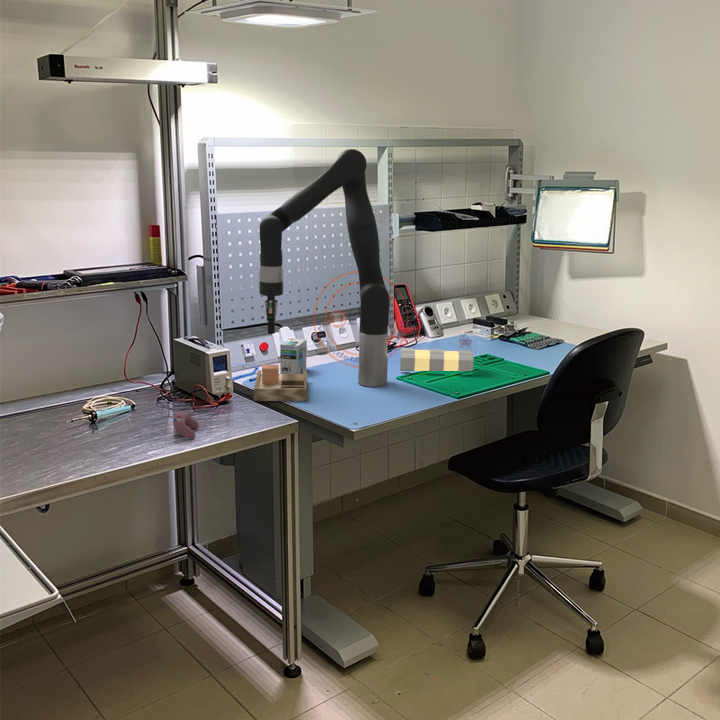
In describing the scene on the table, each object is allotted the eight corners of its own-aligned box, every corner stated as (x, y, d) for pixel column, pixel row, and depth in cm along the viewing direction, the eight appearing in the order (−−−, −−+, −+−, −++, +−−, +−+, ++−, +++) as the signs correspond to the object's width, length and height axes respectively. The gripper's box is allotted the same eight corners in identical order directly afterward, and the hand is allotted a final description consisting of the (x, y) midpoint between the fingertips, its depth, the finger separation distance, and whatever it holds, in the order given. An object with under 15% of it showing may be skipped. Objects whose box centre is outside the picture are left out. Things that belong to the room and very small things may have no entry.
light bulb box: (298, 376, 272) (298, 345, 270) (279, 375, 273) (279, 344, 271) (307, 369, 282) (307, 339, 280) (288, 367, 284) (288, 337, 281)
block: (278, 379, 259) (278, 364, 257) (278, 383, 254) (278, 368, 253) (262, 379, 258) (262, 364, 257) (262, 383, 253) (262, 368, 252)
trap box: (306, 381, 267) (306, 370, 266) (306, 400, 245) (307, 389, 244) (257, 381, 265) (257, 370, 265) (253, 400, 244) (253, 389, 243)
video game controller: (185, 433, 219) (172, 411, 217) (200, 425, 219) (188, 403, 217) (180, 445, 210) (167, 422, 208) (196, 438, 209) (183, 415, 208)
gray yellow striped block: (470, 369, 288) (472, 334, 285) (472, 377, 278) (474, 340, 275) (400, 367, 289) (401, 331, 286) (399, 374, 279) (401, 337, 276)
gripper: (282, 283, 249) (282, 337, 254) (283, 277, 262) (283, 329, 266) (258, 282, 249) (258, 337, 253) (260, 276, 262) (260, 329, 266)
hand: (271, 333), depth 260 cm, fingers closed
